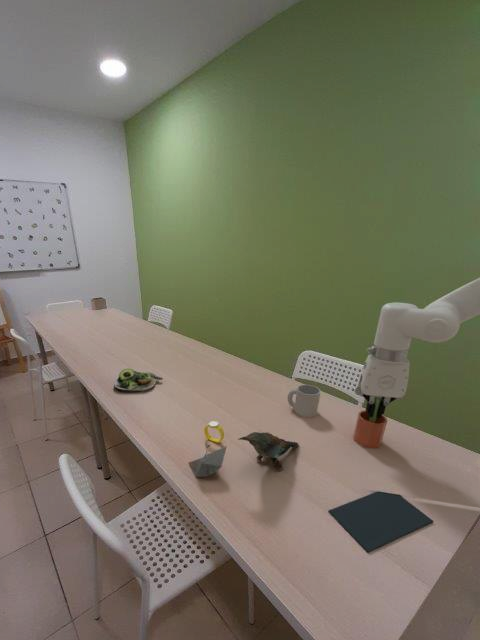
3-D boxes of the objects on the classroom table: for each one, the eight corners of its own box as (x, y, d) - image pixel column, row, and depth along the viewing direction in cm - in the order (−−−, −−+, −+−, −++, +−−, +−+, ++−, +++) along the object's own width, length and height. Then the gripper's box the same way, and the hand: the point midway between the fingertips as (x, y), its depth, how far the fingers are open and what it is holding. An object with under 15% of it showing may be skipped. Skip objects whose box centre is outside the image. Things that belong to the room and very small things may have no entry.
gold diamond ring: (225, 441, 88) (225, 424, 86) (220, 446, 86) (221, 429, 84) (207, 435, 91) (207, 418, 89) (203, 439, 89) (202, 422, 87)
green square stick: (369, 439, 87) (380, 396, 81) (370, 442, 85) (381, 399, 80) (364, 438, 87) (374, 396, 81) (365, 441, 86) (375, 398, 80)
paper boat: (181, 478, 74) (180, 447, 81) (195, 489, 77) (194, 458, 84) (223, 461, 70) (219, 429, 77) (236, 473, 73) (231, 442, 80)
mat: (388, 488, 71) (389, 486, 71) (432, 522, 62) (433, 520, 62) (328, 511, 65) (328, 510, 65) (367, 552, 56) (368, 551, 56)
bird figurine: (282, 433, 90) (262, 394, 77) (310, 452, 82) (293, 411, 70) (253, 467, 87) (227, 431, 74) (279, 489, 79) (256, 453, 67)
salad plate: (165, 374, 133) (165, 364, 131) (159, 393, 117) (158, 382, 115) (123, 374, 134) (121, 364, 133) (110, 393, 118) (109, 382, 116)
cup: (314, 421, 97) (318, 396, 93) (283, 413, 102) (285, 389, 98) (318, 410, 102) (322, 387, 99) (289, 403, 107) (291, 381, 104)
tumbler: (376, 436, 89) (382, 411, 85) (383, 451, 83) (391, 425, 79) (350, 433, 90) (355, 409, 87) (355, 447, 84) (361, 422, 81)
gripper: (358, 356, 74) (345, 419, 81) (431, 360, 70) (411, 426, 78) (352, 346, 81) (340, 405, 88) (418, 349, 77) (400, 411, 84)
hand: (373, 414), depth 83 cm, fingers closed on green square stick, 1 cm apart
